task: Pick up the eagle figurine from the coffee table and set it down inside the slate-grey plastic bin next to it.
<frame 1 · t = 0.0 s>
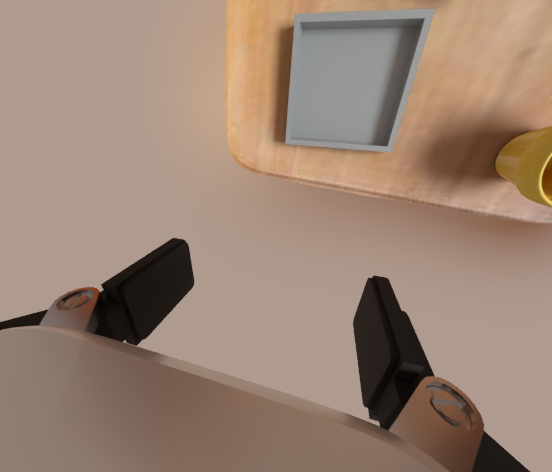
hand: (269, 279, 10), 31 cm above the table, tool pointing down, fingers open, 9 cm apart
plant pot: (523, 156, 29), on the table
bin: (345, 92, 31), on the table
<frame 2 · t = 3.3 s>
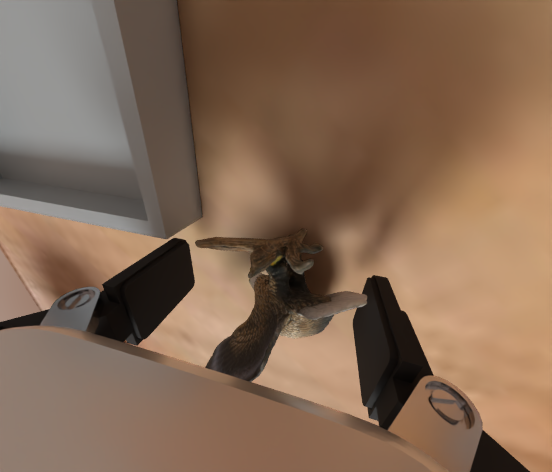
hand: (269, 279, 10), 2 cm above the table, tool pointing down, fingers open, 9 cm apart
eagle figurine: (282, 279, 13), on the table
bin: (39, 33, 10), on the table
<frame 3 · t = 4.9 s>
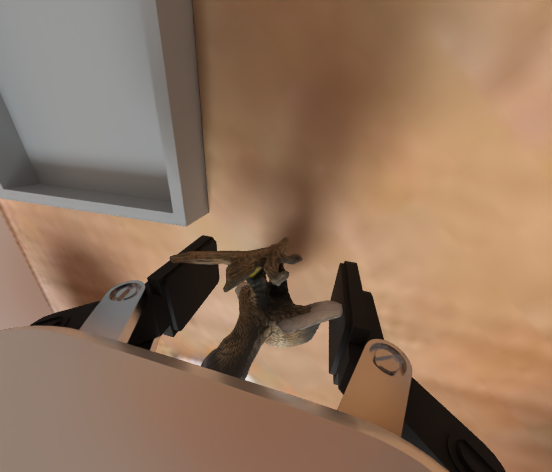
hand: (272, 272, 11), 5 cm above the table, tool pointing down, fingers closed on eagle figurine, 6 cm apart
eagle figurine: (270, 288, 13), point 4 cm above the table, touching gripper
bin: (90, 78, 13), on the table
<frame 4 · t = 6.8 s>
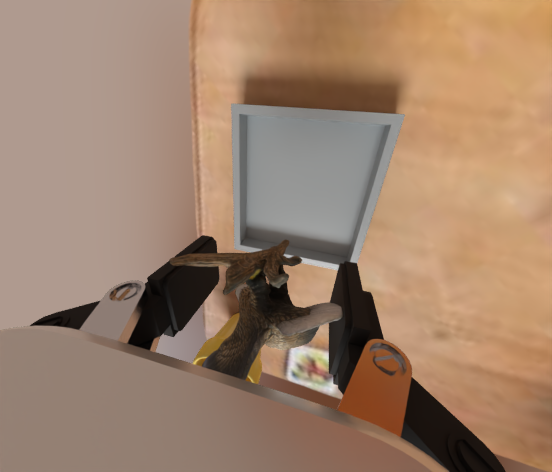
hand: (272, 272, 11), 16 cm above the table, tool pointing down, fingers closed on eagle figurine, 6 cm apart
plant pot: (247, 324, 38), on the table
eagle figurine: (270, 289, 13), point 15 cm above the table, touching gripper
bin: (302, 191, 24), on the table
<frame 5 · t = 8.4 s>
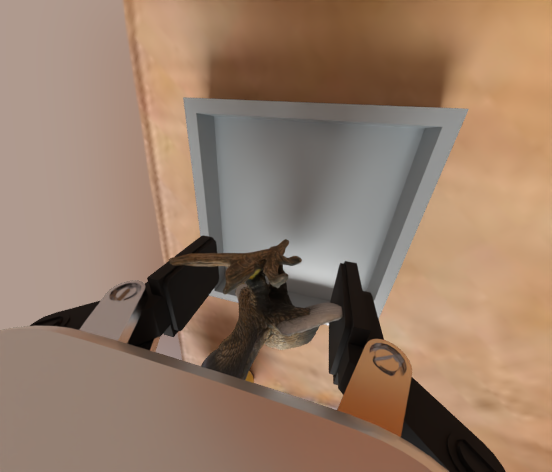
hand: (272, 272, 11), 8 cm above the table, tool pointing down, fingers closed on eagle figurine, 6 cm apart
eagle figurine: (270, 289, 13), point 7 cm above the table, touching gripper
bin: (297, 220, 17), on the table
when the fingers open (3 cm above the table, at t = 9.7 s): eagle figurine drops 2 cm, resting on bin.
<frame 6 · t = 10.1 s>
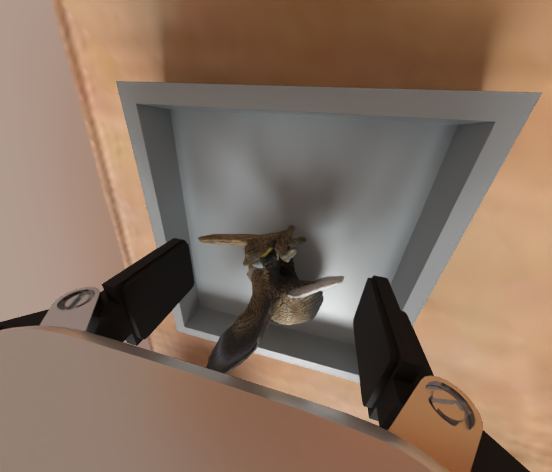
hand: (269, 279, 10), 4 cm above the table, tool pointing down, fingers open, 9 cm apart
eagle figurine: (277, 272, 14), point 1 cm above the table, touching bin
bin: (285, 242, 14), on the table
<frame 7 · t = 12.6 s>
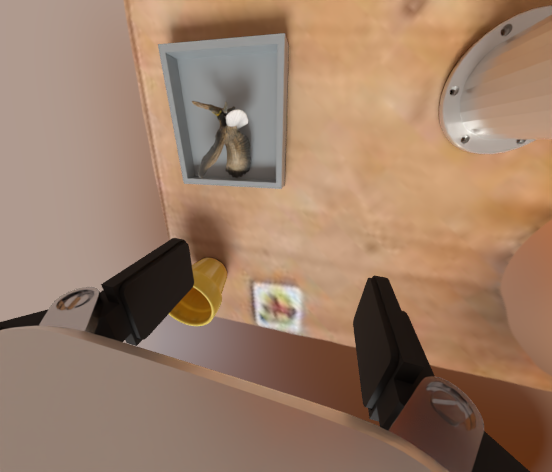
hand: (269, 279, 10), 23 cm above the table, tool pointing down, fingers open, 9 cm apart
plant pot: (213, 270, 42), on the table
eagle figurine: (232, 144, 30), point 1 cm above the table, touching bin
bin: (233, 124, 29), on the table
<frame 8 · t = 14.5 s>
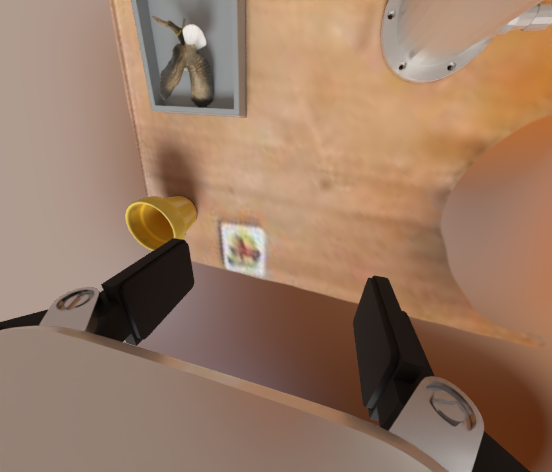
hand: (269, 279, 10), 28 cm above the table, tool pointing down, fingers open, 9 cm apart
plant pot: (184, 210, 45), on the table
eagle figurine: (197, 72, 31), point 1 cm above the table, touching bin
bin: (198, 52, 31), on the table
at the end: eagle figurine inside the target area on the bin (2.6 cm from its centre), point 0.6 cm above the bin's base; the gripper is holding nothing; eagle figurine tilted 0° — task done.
